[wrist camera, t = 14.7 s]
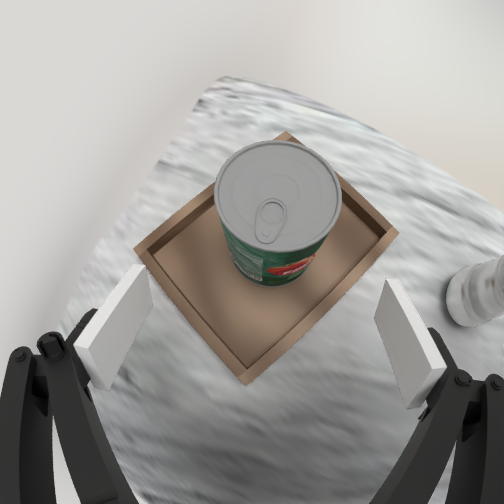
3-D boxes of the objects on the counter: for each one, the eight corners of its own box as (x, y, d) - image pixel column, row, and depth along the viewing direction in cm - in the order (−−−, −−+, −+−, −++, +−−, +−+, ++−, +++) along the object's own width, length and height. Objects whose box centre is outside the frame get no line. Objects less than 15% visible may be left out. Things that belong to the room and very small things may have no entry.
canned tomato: (243, 201, 29) (236, 128, 19) (320, 220, 29) (349, 155, 18) (219, 275, 27) (195, 231, 17) (302, 298, 26) (330, 267, 16)
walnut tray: (284, 144, 32) (286, 131, 30) (389, 241, 28) (399, 233, 26) (142, 256, 29) (133, 248, 26) (247, 382, 25) (246, 386, 22)
